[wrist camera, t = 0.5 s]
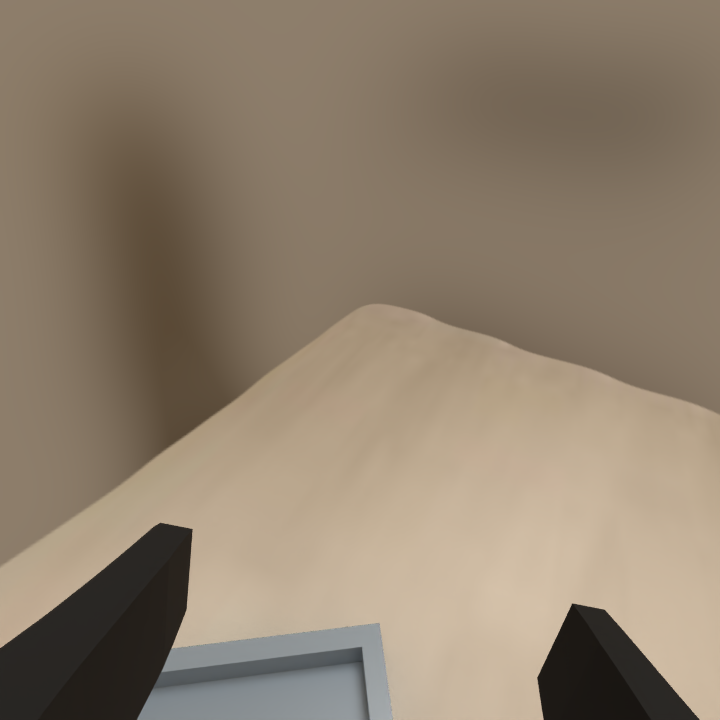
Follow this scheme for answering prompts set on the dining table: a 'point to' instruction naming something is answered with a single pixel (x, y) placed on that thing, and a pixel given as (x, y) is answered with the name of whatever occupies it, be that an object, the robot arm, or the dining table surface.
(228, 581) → the dining table surface
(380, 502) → the dining table surface
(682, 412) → the dining table surface
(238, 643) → the parts tray
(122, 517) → the dining table surface
